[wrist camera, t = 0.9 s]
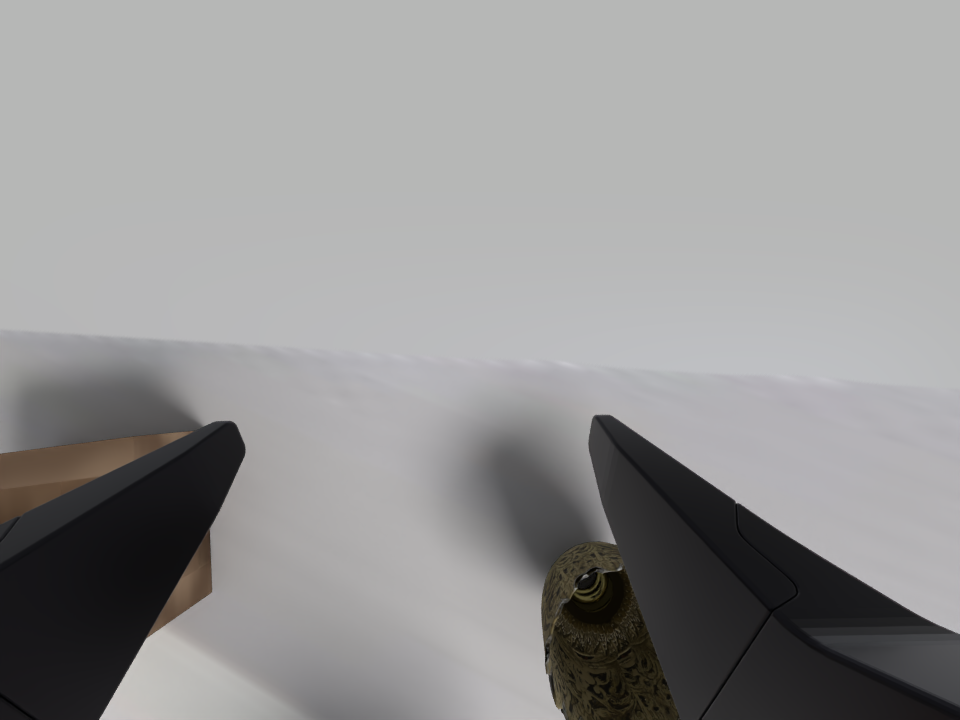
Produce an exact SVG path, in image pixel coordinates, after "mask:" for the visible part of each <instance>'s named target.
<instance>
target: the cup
mask: <svg viewBox="0 0 960 720" xmlns="http://www.w3.org/2000/svg"><path fill="white" fill-rule="evenodd" d="M594 572H596V580H595V582H594V584H593V585H592V586H591V587H590V588H588V589H579V588H577V587H578V583H579V582H580V581H581V580H583V579H585V578H588V577H589V576H590V575H591V574H592V573H594ZM541 614H542V629H543V639H544V649H545V667H546V674H548V675H549V681H550V687H551V692H552V696H553V699H554V702H555V705H556V707H557V708H558V709H559V710H560V709H561V712H562V713H563V714H564V716H565V719H566V720H681V719H680V717H679V714H678V711H677V708H676V706H675V703H674V700H673V697H672V695H671V692H670V689H669V686H668V684H667V681H666V678H665V676H664V673H663V670H662V667H661V665H660V662H659V659H658V656H657V654H656V651H655V648H654V645H653V643H652V640H651V637H650V634H649V632H648V629H647V626H646V623H645V621H644V618H643V615H642V613H641V610H640V607H639V604H638V602H637V599H636V596H635V593H634V591H633V588H632V585H631V582H630V580H629V577H628V574H627V571H626V569H625V566H624V563H623V560H622V558H621V555H620V552H619V550H618V547H617V545H614V544H610V543H606V542H587V543H583V544H580V545H577V546H575V547H573V548H571V549H569V550H568V551H566V552H565V553H563V554H562V555H561V556H560V557H559V558H558V559H557V560H556V562H555V563H554V564H553V566H552V567H551V569H550V571H549V573H548V575H547V577H546V581H545V584H544V589H543V594H542V605H541Z"/></svg>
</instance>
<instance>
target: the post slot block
mask: <svg viewBox="0 0 960 720" xmlns="http://www.w3.org/2000/svg"><path fill="white" fill-rule="evenodd" d="M192 432H194V431H188V432H177V433H166V434H155V435H144V436H133V437H126V438H118V439H110V440H103V441H95V442H87V443H79V444H72V445H64V446H56V447H49V448H41V449H33V450H25V451H18V452H10V453H2V454H0V524H2V523H4V522H6V521H9V520H11V519H13V518H15V517H17V516H22V515H23V514H24V513H25V512H27V511H30V510H32V509H34V508H36V507H38V506H40V505H42V504H44V503H46V502H48V501H50V500H52V499H55V498H57V497H59V496H61V495H63V494H65V493H67V492H69V491H71V490H73V489H75V488H77V487H80V486H82V485H84V484H86V483H88V482H90V481H92V480H94V479H96V478H98V477H100V476H102V475H105V474H107V473H109V472H111V471H113V470H115V469H117V468H119V467H121V466H123V465H125V464H127V463H129V462H132V461H134V460H136V459H138V458H140V457H142V456H144V455H146V454H148V453H150V452H152V451H154V450H157V449H159V448H161V447H163V446H165V445H167V444H169V443H171V442H173V441H175V440H177V439H179V438H182V437H184V436H186V435H188V434H190V433H192ZM211 592H212V581H211V554H210V529H209V530H208V532H207V534H206V536H205V537H204V539H203V541H202V543H201V544H200V546H199V548H198V549H197V551H196V553H195V555H194V556H193V558H192V560H191V562H190V563H189V565H188V567H187V569H186V570H185V572H184V574H183V575H182V577H181V579H180V581H179V582H178V584H177V586H176V588H175V589H174V591H173V593H172V594H171V596H170V598H169V600H168V601H167V603H166V605H165V607H164V608H163V610H162V612H161V614H160V615H159V617H158V619H157V620H156V622H155V624H154V626H153V627H152V629H151V631H150V633H149V634H148V636H147V637H149V636H150V635H152V634H153V633H154V632H156V631H157V630H159V629H160V628H162V627H163V626H164V625H166V624H167V623H169V622H170V621H172V620H173V619H174V618H176V617H177V616H179V615H180V614H182V613H183V612H184V611H186V610H187V609H189V608H190V607H192V606H193V605H194V604H196V603H197V602H199V601H200V600H201V599H203V598H204V597H206V596H207V595H209V594H210V593H211Z"/></svg>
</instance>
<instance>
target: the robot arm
mask: <svg viewBox="0 0 960 720" xmlns="http://www.w3.org/2000/svg"><path fill="white" fill-rule="evenodd" d="M245 450H246V449H245V444H244V442H243V439H242V437H241V435H240V432H239V430H238V427H237V425H236V424H235V423H234V422H232V421H216V422H213V423H211V424H209V425H207V426H204V427H202V428H200V429H198V430H196V431H194V432H192V433H190V434H188V435H186V436H184V437H182V438H179V439H177V440H175V441H173V442H171V443H169V444H167V445H165V446H163V447H161V448H159V449H157V450H154V451H152V452H150V453H148V454H146V455H144V456H142V457H140V458H138V459H136V460H134V461H132V462H129V463H127V464H125V465H123V466H121V467H119V468H117V469H115V470H113V471H111V472H109V473H107V474H105V475H102V476H100V477H98V478H96V479H94V480H92V481H90V482H88V483H86V484H84V485H82V486H80V487H77V488H75V489H73V490H71V491H69V492H67V493H65V494H63V495H61V496H59V497H57V498H55V499H52V500H50V501H48V502H46V503H44V504H42V505H40V506H38V507H36V508H34V509H32V510H30V511H27V512H25V513H24V514H23V515H22V516H17V517H15V518H13V519H11V520H9V521H6V522H4V523H2V524H0V720H99V719H100V717H101V716H102V714H103V712H104V710H105V709H106V707H107V705H108V704H109V702H110V700H111V698H112V697H113V695H114V693H115V691H116V690H117V688H118V686H119V684H120V683H121V681H122V679H123V678H124V676H125V674H126V672H127V671H128V669H129V667H130V665H131V664H132V662H133V660H134V659H135V657H136V655H137V653H138V652H139V650H140V648H141V646H142V645H143V643H144V641H145V639H146V638H147V636H148V634H149V633H150V631H151V629H152V627H153V626H154V624H155V622H156V620H157V619H158V617H159V615H160V614H161V612H162V610H163V608H164V607H165V605H166V603H167V601H168V600H169V598H170V596H171V594H172V593H173V591H174V589H175V588H176V586H177V584H178V582H179V581H180V579H181V577H182V575H183V574H184V572H185V570H186V569H187V567H188V565H189V563H190V562H191V560H192V558H193V556H194V555H195V553H196V551H197V549H198V548H199V546H200V544H201V543H202V541H203V539H204V537H205V536H206V534H207V532H208V530H209V529H210V527H211V525H212V524H213V522H214V520H215V518H216V516H217V514H218V513H219V511H220V509H221V507H222V505H223V502H224V500H225V498H226V496H227V494H228V491H229V489H230V487H231V485H232V483H233V480H234V478H235V476H236V474H237V472H238V469H239V467H240V465H241V463H242V461H243V458H244V456H245ZM589 451H590V456H591V460H592V464H593V468H594V472H595V477H596V481H597V485H598V489H599V493H600V497H601V501H602V505H603V508H604V511H605V514H606V517H607V519H608V522H609V525H610V528H611V530H612V533H613V536H614V539H615V541H616V544H617V547H618V550H619V552H620V555H621V558H622V560H623V563H624V566H625V569H626V571H627V574H628V577H629V580H630V582H631V585H632V588H633V591H634V593H635V596H636V599H637V602H638V604H639V607H640V610H641V613H642V615H643V618H644V621H645V623H646V626H647V629H648V632H649V634H650V637H651V640H652V643H653V645H654V648H655V651H656V654H657V656H658V659H659V662H660V665H661V667H662V670H663V673H664V676H665V678H666V681H667V684H668V686H669V689H670V692H671V695H672V697H673V700H674V703H675V706H676V708H677V711H678V714H679V717H680V719H681V720H960V634H958V633H955V632H953V631H951V630H948V629H946V628H944V627H941V626H939V625H937V624H935V623H933V622H931V621H929V620H927V619H925V618H923V617H921V616H919V615H917V614H916V613H914V612H912V611H910V610H909V609H907V608H905V607H903V606H902V605H900V604H898V603H897V602H895V601H893V600H892V599H890V598H888V597H887V596H885V595H884V594H882V593H880V592H879V591H877V590H875V589H874V588H872V587H870V586H869V585H867V584H865V583H864V582H862V581H860V580H859V579H857V578H855V577H854V576H852V575H850V574H849V573H847V572H846V571H844V570H842V569H841V568H839V567H837V566H836V565H834V564H832V563H831V562H829V561H827V560H826V559H824V558H822V557H821V556H819V555H817V554H816V553H814V552H813V551H811V550H809V549H808V548H806V547H805V546H803V545H801V544H800V543H798V542H797V541H795V540H793V539H792V538H790V537H789V536H787V535H785V534H784V533H782V532H781V531H779V530H778V529H776V528H775V527H773V526H772V525H770V524H769V523H767V522H766V521H764V520H763V519H761V518H760V517H758V516H757V515H755V514H754V513H752V512H751V511H749V510H748V509H747V508H745V507H744V506H742V505H741V504H739V503H737V504H736V502H735V500H733V499H732V498H730V497H729V496H727V495H726V494H725V493H723V492H722V491H720V490H719V489H717V488H716V487H714V486H713V485H712V484H710V483H709V482H707V481H706V480H704V479H703V478H701V477H700V476H698V475H697V474H696V473H694V472H693V471H691V470H690V469H688V468H687V467H685V466H684V465H682V464H681V463H680V462H678V461H677V460H675V459H674V458H672V457H671V456H669V455H668V454H667V453H665V452H664V451H662V450H661V449H659V448H658V447H656V446H655V445H653V444H652V443H651V442H649V441H648V440H646V439H645V438H643V437H642V436H640V435H639V434H637V433H636V432H635V431H633V430H632V429H630V428H629V427H627V426H626V425H624V424H623V423H622V422H620V421H619V420H617V419H616V418H614V417H613V416H611V415H595V416H594V417H593V419H592V423H591V429H590V435H589Z"/></svg>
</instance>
